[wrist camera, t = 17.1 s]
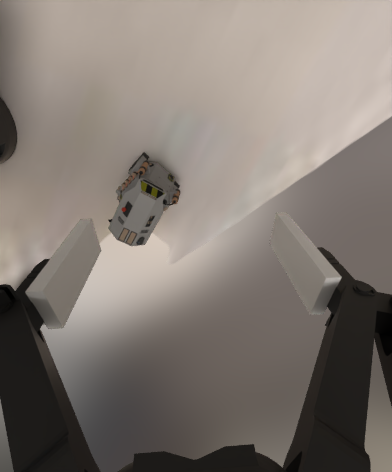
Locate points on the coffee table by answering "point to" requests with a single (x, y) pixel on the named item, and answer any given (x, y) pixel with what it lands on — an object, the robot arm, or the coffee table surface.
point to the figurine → (142, 201)
